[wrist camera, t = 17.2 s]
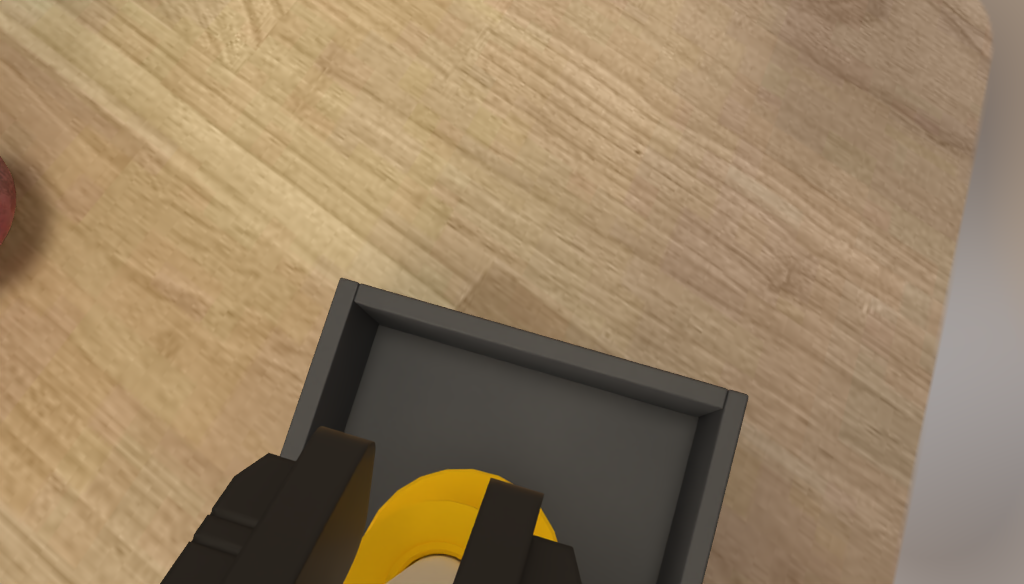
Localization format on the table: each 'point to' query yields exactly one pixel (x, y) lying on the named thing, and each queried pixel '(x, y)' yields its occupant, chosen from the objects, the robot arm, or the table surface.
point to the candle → (426, 530)
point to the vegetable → (6, 200)
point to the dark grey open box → (529, 428)
